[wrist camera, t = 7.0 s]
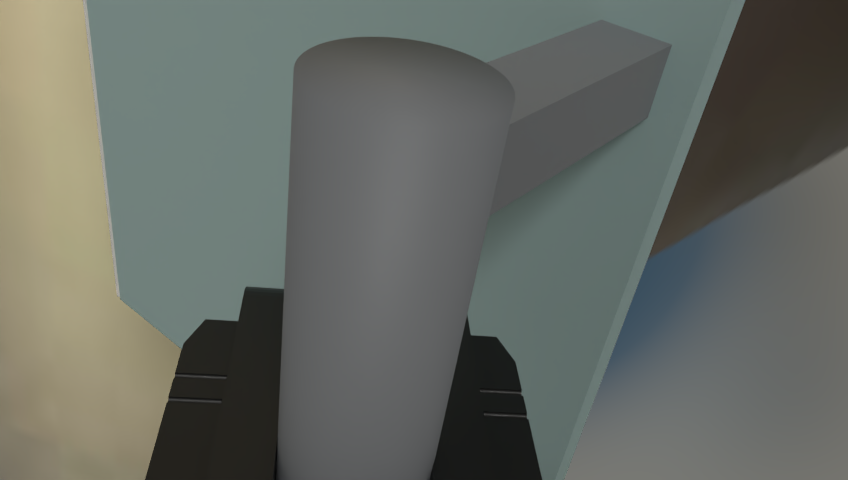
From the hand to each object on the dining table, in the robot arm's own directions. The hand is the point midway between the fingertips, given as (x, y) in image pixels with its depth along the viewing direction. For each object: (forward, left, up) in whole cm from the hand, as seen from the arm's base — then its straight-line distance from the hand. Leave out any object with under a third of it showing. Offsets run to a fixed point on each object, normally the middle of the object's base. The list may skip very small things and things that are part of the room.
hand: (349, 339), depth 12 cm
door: (0, -1, -5) cm, 5 cm away
